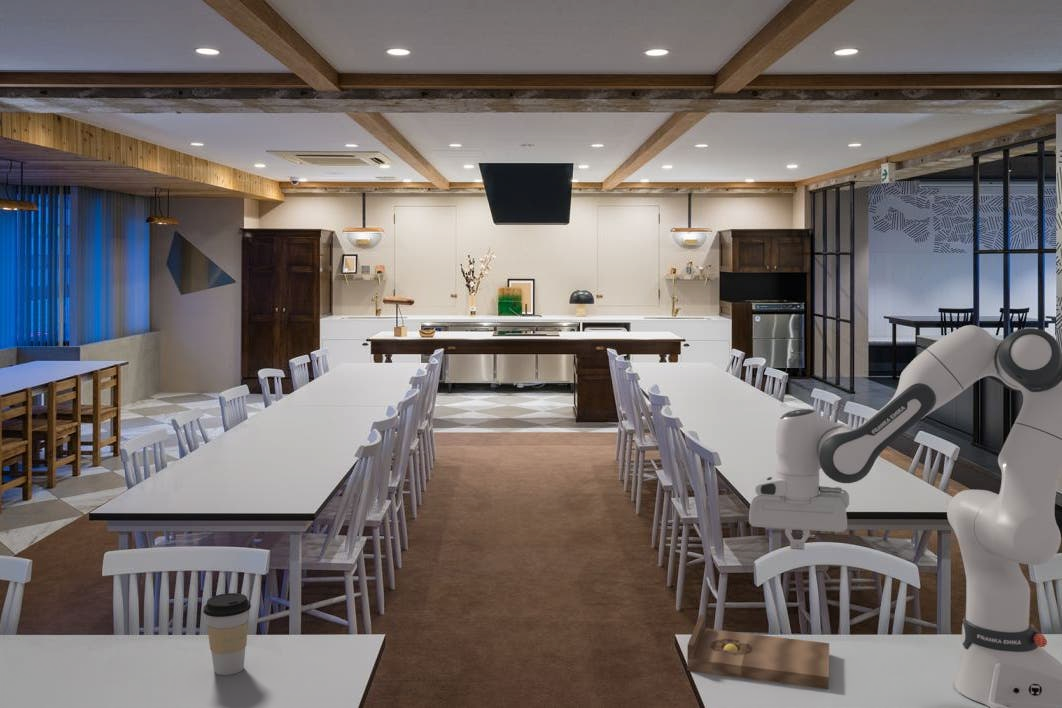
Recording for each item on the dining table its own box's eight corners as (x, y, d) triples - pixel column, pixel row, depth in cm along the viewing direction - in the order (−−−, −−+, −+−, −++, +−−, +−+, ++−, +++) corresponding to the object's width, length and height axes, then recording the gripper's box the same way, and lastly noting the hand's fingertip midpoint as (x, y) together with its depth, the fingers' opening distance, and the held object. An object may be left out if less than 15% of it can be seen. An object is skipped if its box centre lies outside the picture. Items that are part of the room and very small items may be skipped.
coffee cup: (233, 681, 183) (231, 609, 182) (194, 675, 186) (192, 604, 185) (261, 663, 192) (260, 594, 191) (224, 657, 195) (222, 589, 194)
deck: (829, 654, 197) (829, 629, 196) (828, 689, 180) (829, 662, 179) (699, 638, 206) (699, 615, 205) (687, 670, 189) (687, 644, 188)
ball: (729, 638, 196) (721, 649, 197) (727, 643, 193) (719, 654, 194) (742, 647, 195) (733, 658, 196) (740, 653, 192) (731, 664, 193)
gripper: (848, 484, 193) (848, 548, 194) (750, 480, 199) (750, 541, 200) (849, 491, 187) (849, 556, 188) (748, 486, 193) (748, 549, 194)
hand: (797, 548), depth 194 cm, fingers closed
